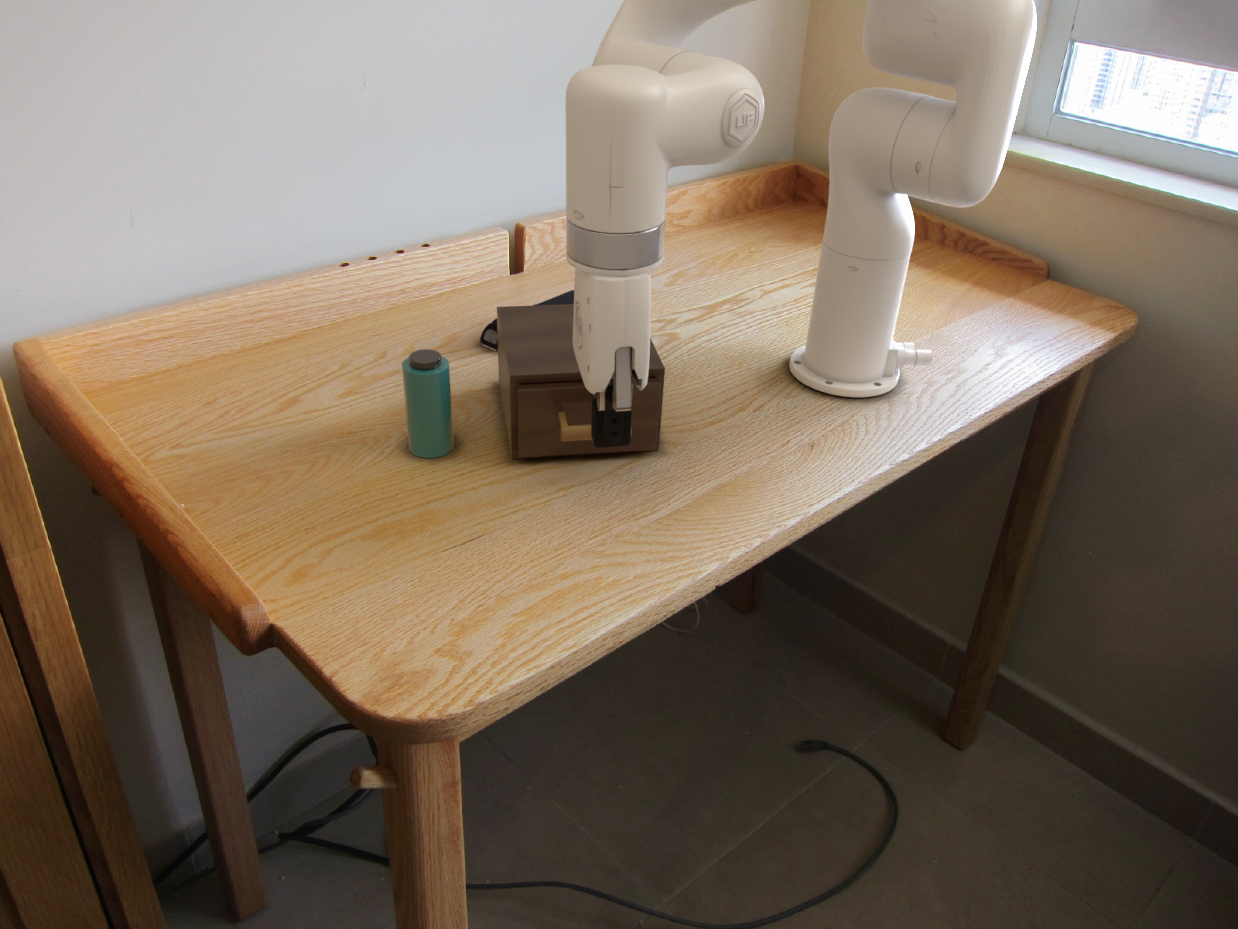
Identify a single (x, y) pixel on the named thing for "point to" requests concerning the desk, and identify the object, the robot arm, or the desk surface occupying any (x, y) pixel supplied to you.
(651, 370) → the cabinet
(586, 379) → the robot arm
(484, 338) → the electric trimmer
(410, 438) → the bottle
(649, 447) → the drawer
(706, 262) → the desk surface
